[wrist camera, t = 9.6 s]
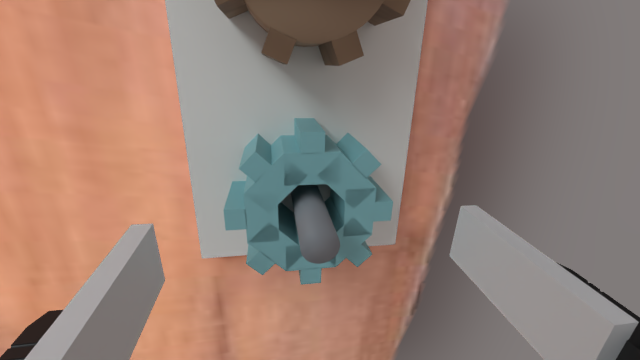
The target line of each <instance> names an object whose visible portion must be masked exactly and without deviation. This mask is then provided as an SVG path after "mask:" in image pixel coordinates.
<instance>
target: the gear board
mask: <svg viewBox="0 0 640 360" xmlns="http://www.w3.org/2000/svg"><path fill="white" fill-rule="evenodd" d="M165 3H166V10H167V17H168V24H169V31H170V38H171V45H172V52H173V59H174V66H175V73H176V80H177V87H178V94H179V101H180V108H181V115H182V122H183V129H184V136H185V143H186V150H187V157H188V164H189V171H190V178H191V185H192V192H193V199H194V206H195V213H196V220H197V227H198V234H199V241H200V249H201V256H202V258H214V257H228V256H242V255H247V253H248V243H247V233H246V229H242V230H226V229H225V220H224V207H225V203H226V200H227V197H228V194H229V190H230V187H231V184H232V181H246V178H247V175H246V174H244V173H243V172H242V171H241V170H240V169H239V165H240V162H241V158H242V155H243V151H244V148H245V146H246V145H247V144H248V143H249V142H250V141H251V140H252V139H253V138H254V137H255V136H256V135H257V134H259V135H260V136H262V137H263V138H264V139H265V140H266V141H267V142H268V143H269V144H270V145H272V144H273V143H274V142H275V141H276V140H277V139H278V138H279V137H280V136H281V135H294V118H314V119H315V120H316V121H317V122H318V124H319V125H320V126H321V127H322V128H323V130H324V131H325V135H328V136H329V137H330V138H331V139H332V140H333V141H334V142H335V143H336V144H337V143H338V142H339V141H340V140H341V139H342V138H343V137H344V136H345V135H346V134H347V133H349V134H350V135H352V136H353V137H354V138H355V139H356V140H357V141H358V142H360V143H361V144H362V145H363V146H364V147H365V148H366V149H368V151H369V152H370V153H371V154H372V155H373V156H374V157H375V158H376V159H377V160H378V161H379V162H380V163H381V165H380V166H379V167H378V168H377V169H376V170H375V171H374V172H373V173H372V174H371V175H370V176H371V177H372V178H373V180H374V181H375V182H376V183H377V184H378V185H379V186H380V187H381V188H382V190H383V191H384V192H385V193H386V194H387V195H388V196H389V197H390V198H391V200H392V201H393V207H392V216H391V221H375V222H373V229H372V235H371V236H370V237H369V238H368V239H366V240H365V242H366V243H367V245H368V246H379V245H393V244H395V242H396V234H397V227H398V219H399V212H400V204H401V197H402V190H403V182H404V175H405V167H406V160H407V152H408V145H409V137H410V130H411V122H412V115H413V107H414V100H415V92H416V85H417V77H418V70H419V62H420V55H421V47H422V40H423V32H424V25H425V18H426V10H427V3H428V0H411V1H410V3H409V5H408V7H407V9H406V11H405V14H404V16H401V17H398V18H396V19H393V20H390V21H387V22H384V23H381V24H379V25H376V26H374V25H372V24H370V23H369V22H366V23H365V24H364V25H363V26H362V27H360V28H359V29H357V33H358V37H359V40H360V44H361V47H362V50H363V54H364V56H362V57H360V58H357V59H355V60H353V61H350V62H348V63H345V64H343V65H341V66H330V65H325V64H324V61H323V58H322V56H321V53H320V50H319V47H318V46H319V45H318V46H313V47H301V46H294V48H293V51H292V53H291V56H290V59H289V61H288V64H287V65H286V64H282V63H279V62H277V61H275V60H273V59H271V58H269V57H266V56H264V55H263V54H262V53H261V52H262V49H263V46H264V43H265V40H266V37H267V34H268V33H267V32H266V31H265V30H264V29H263V28H262V27H261V26H260V25H258V23H257V22H256V21H255V20H254V18H253V17H252V16H251V14H250V13H249V11H247V12H244V13H242V14H239V15H237V16H235V17H232V18H230V19H228V18H227V17H226V16H225V14H224V13H223V12H222V11H221V10H220V9H219V8H218V7H217V5H216V3H215V1H214V0H165ZM330 189H331V188H330V187H329V186H328V185H327V184H316V185H298V186H297V187H296V188H295V189H294V190H293V191H292V192H291V193H289V194H288V195H287V196H286V197H285V198H284V199H283V200H282V201H281V203H283V204H284V205H285V206H286V207H287V208H289V209H290V210H291V211H292V212H294V215H295V221H296V227H297V232H298V238H299V244H300V250H301V254H302V256H303V257H304V258H305V259H306V260H307V261H309V262H311V263H315V264H321V263H326V262H328V261H330V260H332V259H333V258H334V257H335V256H336V255H337V253H338V252H339V249H340V241H339V238H338V235H337V233H336V230H335V228H334V225H333V223H332V220H331V218H330V215H329V213H328V210H327V208H326V205H325V203H324V202H325V201H326V200H327V199H328V198H329V197H330Z"/></svg>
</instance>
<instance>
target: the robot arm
mask: <svg viewBox="0 0 640 360" xmlns="http://www.w3.org/2000/svg"><path fill="white" fill-rule="evenodd" d="M449 256H450V257H451V258H452V259H453V260H454V261H455V263H456V264H457V265H458V266H459V267H460V268H461V269H462V270H463V271H464V272H465V273H466V275H467V276H468V277H469V278H470V279H471V280H472V281H473V282H474V283H475V284H476V286H477V287H478V288H479V289H480V290H481V291H482V292H483V293H484V294H485V295H486V297H487V298H488V299H489V300H490V301H491V302H492V303H493V304H494V305H495V306H496V307H497V308H498V310H499V311H500V312H501V313H502V314H503V315H504V316H505V317H506V319H507V320H508V321H509V322H510V323H511V324H512V325H513V326H514V327H515V328H516V329H517V331H518V332H519V333H520V334H521V335H522V336H523V337H524V338H525V339H526V340H527V341H528V343H529V344H530V345H531V346H532V347H533V348H534V349H535V350H536V351H537V352H538V354H539V355H540V356H541V357H542V358H543V359H544V360H640V317H638V316H637V315H635V314H634V313H632V312H631V311H630V310H628V309H627V308H625V307H624V306H623V305H621V304H619V303H618V302H617V301H615V300H614V299H613V298H611V297H610V296H608V295H607V294H605V293H604V292H601V291H600V289H598V288H597V287H596V286H594V285H593V284H591V283H588V281H587V280H586V279H584V278H583V277H581V276H580V275H578V274H577V273H575V272H574V271H573V270H571V269H569V268H567V267H564V266H563V265H561V264H558V263H556V262H555V261H553V260H552V259H550V258H549V257H548V256H546V255H545V254H543V253H542V252H541V251H539V250H538V249H536V248H535V247H534V246H532V245H531V244H529V243H528V242H527V241H525V240H524V239H522V238H521V237H520V236H518V235H517V234H515V233H514V232H513V231H511V230H510V229H508V228H507V227H506V226H504V225H503V224H502V223H500V222H499V221H497V220H496V219H495V218H493V217H492V216H490V215H489V214H488V213H486V212H485V211H483V210H482V209H481V208H479V207H478V206H476V205H472V206H461V208H460V212H459V217H458V221H457V225H456V230H455V234H454V238H453V243H452V247H451V251H450V255H449ZM164 281H165V277H164V273H163V268H162V264H161V259H160V254H159V250H158V245H157V240H156V236H155V231H154V226H153V224H137V225H131V226H130V227H129V228H128V230H127V231H126V232H125V233H124V235H123V236H122V237H121V239H120V240H119V241H118V242H117V244H116V245H115V246H114V247H113V249H112V250H111V251H110V252H109V254H108V255H107V256H106V257H105V259H104V260H103V261H102V262H101V264H100V265H99V266H98V267H97V269H96V270H95V271H94V272H93V274H92V275H91V276H90V277H89V279H88V280H87V281H86V282H85V284H84V285H83V286H82V288H81V289H80V290H79V291H78V293H77V294H76V295H75V296H74V298H73V299H72V300H71V301H70V303H69V304H68V305H67V306H66V308H65V309H64V310H56V311H48V312H47V313H45V314H44V315H43V316H41V317H40V318H39V319H37V320H36V321H35V322H33V323H32V324H31V325H29V326H28V327H27V328H26V329H25V330H24V331H23V332H22V333H21V335H20V336H19V337H18V338H17V339H16V340H15V341H14V343H13V344H12V345H11V348H10V349H7V350H6V352H5V353H4V354H3V355H2V356H1V357H0V360H129V359H130V357H131V355H132V352H133V350H134V348H135V346H136V344H137V341H138V339H139V337H140V335H141V332H142V330H143V328H144V326H145V324H146V321H147V319H148V317H149V315H150V312H151V310H152V308H153V306H154V304H155V301H156V299H157V297H158V295H159V293H160V290H161V288H162V286H163V284H164Z"/></svg>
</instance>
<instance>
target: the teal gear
mask: <svg viewBox="0 0 640 360" xmlns="http://www.w3.org/2000/svg"><path fill="white" fill-rule="evenodd" d="M380 165H381V163H380V162H379V161H378V160H377V159H376V158H375V157H374V156H373V155H372V154H371V153H370V152H369V151H368V149H366V148H365V147H364V146H363V145H362V144H361V143H360V142H358V141H357V140H356V139H355V138H354V137H353V136H352V135H350V134H349V133H347V134H346V135H345V136H344V137H343V138H342V139H341V140H340V141H339V142H338V143H337V144H336V143H335V142H334V141H333V140H332V139H331V138H330V137H329V136H328V135H325V131H324V130H323V128H322V127H321V126H320V125H319V124H318V122H317V121H316V120H315V119H314V118H294V135H281V136H280V137H279V138H278V139H277V140H276V141H275V142H274V143H273V144H272V145H270V144H269V143H268V142H267V141H266V140H265V139H264V138H263V137H262V136H260V135H259V134H257V135H256V136H255V137H254V138H253V139H252V140H251V141H250V142H249V143H248V144H247V145H246V146H245V148H244V151H243V155H242V158H241V162H240V165H239V169H240V170H241V171H242V172H243V173H244V174H246V175H247V178H246V181H232V184H231V187H230V190H229V194H228V197H227V200H226V203H225V207H224V220H225V229H226V230H242V229H246V233H247V243H248V253H247V261H246V264H247V265H249V266H250V267H251V268H253V269H254V270H256V271H257V272H259V273H260V274H262V275H263V274H264V273H265V272H266V271H267V270H269V269H270V268H271V267H272V266H273V265H274V264H275V263H276V264H277V265H278V266H280V267H281V268H283V269H284V270H285V271H294V270H299V275H300V282H301V284H312V283H321V268H330V267H336V266H337V265H338V264H340V263H341V262H342V261H343V260H344V259H345V258H347V259H348V260H349V261H351V262H352V263H353V264H354V265H355V266H357V267H358V266H359V265H360V264H362V263H363V262H364V261H365V260H366V259H367V258H368V257H370V256H371V255H372V253H371V251H370V249H369V247H368V245H367V243H366V242H365V240H366V239H368V238H369V237H370V236H371V235H372V229H373V222H375V221H391V216H392V207H393V201H392V200H391V198H390V197H389V196H388V195H387V194H386V193H385V192H384V191H383V190H382V188H381V187H380V186H379V185H378V184H377V183H376V182H375V181H374V180H373V178H372V177H371V176H370V175H371V174H372V173H373V172H374V171H375V170H376V169H377V168H378V167H379V166H380ZM316 184H327V185H328V186H329V187H330V188H331V189H330V197H329V198H328V199H327V200H326V201H325V202H324V203H325V205H326V208H327V210H328V213H329V215H330V218H331V220H332V223H333V225H334V228H335V230H336V233H337V235H338V238H339V241H340V249H339V252H338V253H337V255H336V256H335V257H334V258H333V259H332V260H330V261H328V262H326V263H321V264H315V263H311V262H309V261H307V260H306V259H305V258H304V257H303V256H302V254H301V250H300V244H299V238H298V232H297V227H296V221H295V215H294V212H292V211H291V210H290V209H289V208H287V207H286V206H285V205H284V204H283V203H281V201H282V200H283V199H284V198H285V197H286V196H287V195H288V194H289V193H291V192H292V191H293V190H294V189H295V188H296V187H297V186H298V185H316Z"/></svg>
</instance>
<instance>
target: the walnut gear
mask: <svg viewBox="0 0 640 360" xmlns="http://www.w3.org/2000/svg"><path fill="white" fill-rule="evenodd" d="M214 1H215V3H216V5H217V7H218V8H219V9H220V10H221V11H222V12H223V13H224V14H225V16H226V17H227V18H228V19H230V18H232V17H235V16H237V15H239V14H242V13H244V12H247V11H249V13H250V14H251V16H252V17H253V18H254V20H255V21H256V22H257V23H258V25H260V26H261V27H262V28H263V29H264V30H265V31H266V32H267V33H268V34H267V37H266V40H265V43H264V46H263V49H262V52H261V53H262V54H263V55H264V56H266V57H269V58H271V59H273V60H275V61H277V62H279V63H282V64H286V65H287V64H288V61H289V59H290V56H291V53H292V51H293V48H294V46H301V47H313V46H318V45H319V46H318V47H319V50H320V53H321V56H322V58H323V61H324V64H325V65H330V66H341V65H343V64H345V63H348V62H350V61H353V60H355V59H357V58H360V57H362V56H364V54H363V50H362V47H361V44H360V40H359V37H358V33H357V29H359V28H360V27H362V26H363V25H364V24H365V23H366V22H369V23H370V24H372V25H374V26H376V25H379V24H381V23H384V22H387V21H390V20H393V19H396V18H398V17H401V16H404V14H405V11H406V9H407V7H408V5H409V3H410V1H411V0H214Z"/></svg>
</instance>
